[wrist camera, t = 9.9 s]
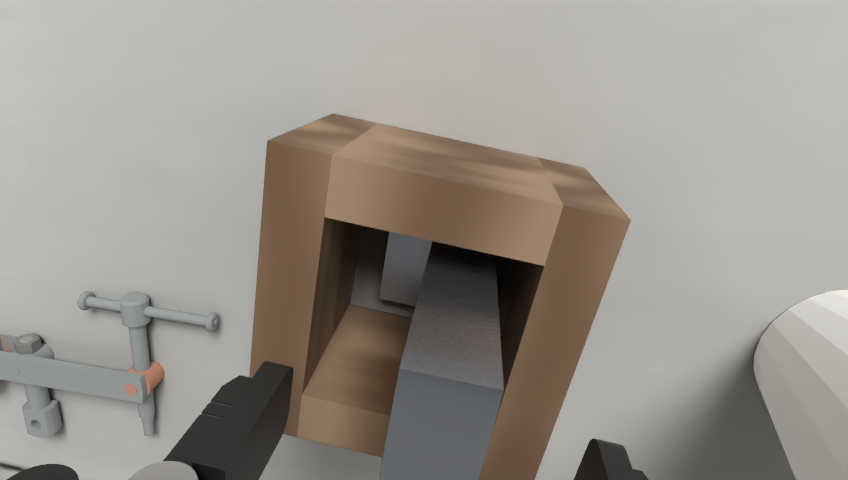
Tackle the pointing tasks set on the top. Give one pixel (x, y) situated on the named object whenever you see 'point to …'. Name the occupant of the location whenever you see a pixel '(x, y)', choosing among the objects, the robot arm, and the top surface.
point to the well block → (440, 222)
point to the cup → (809, 384)
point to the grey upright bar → (443, 360)
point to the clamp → (41, 371)
